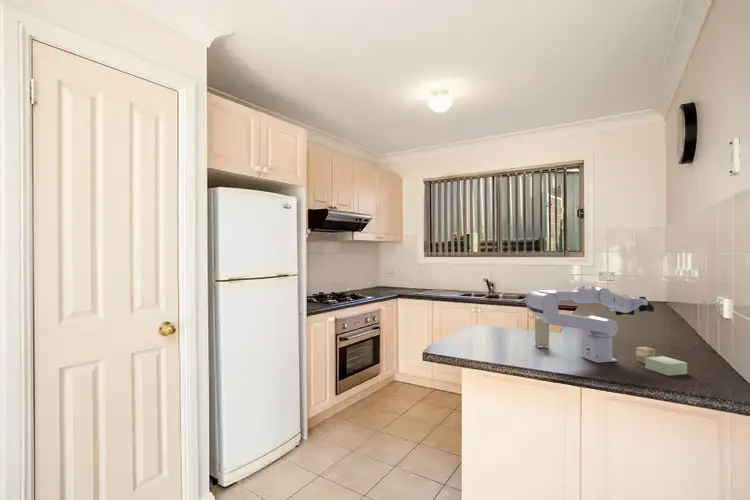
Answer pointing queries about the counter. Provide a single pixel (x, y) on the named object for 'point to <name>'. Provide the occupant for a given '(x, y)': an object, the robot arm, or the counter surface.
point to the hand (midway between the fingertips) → (643, 310)
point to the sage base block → (666, 365)
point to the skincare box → (541, 333)
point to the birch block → (644, 353)
